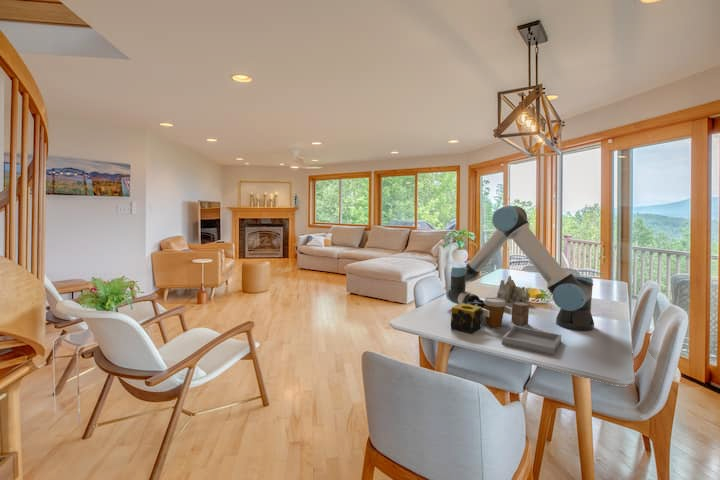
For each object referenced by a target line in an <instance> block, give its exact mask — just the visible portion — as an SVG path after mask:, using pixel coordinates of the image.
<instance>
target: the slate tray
mask: <svg viewBox="0 0 720 480" xmlns="http://www.w3.org/2000/svg"><path fill="white" fill-rule="evenodd" d="M561 342H562V334H558V333H553V332H548V331H543V330H537V329H533V328H528V327H523V326H519V325H513V326H512V327H511V328H510V329H509V330H508V331H507V332H506V333H505V334H503V336H501V345H505V346H510V347H514V348H517V349H522V350H527V351H529V352H530V351H531V352H536V353H540V354H542V355H543V354H544V355H549V356H553V357H554V355H555V354H556V352H557V349H558V348H559V346H560V344H561Z"/></svg>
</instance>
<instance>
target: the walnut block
mask: <svg viewBox="0 0 720 480" xmlns="http://www.w3.org/2000/svg"><path fill="white" fill-rule="evenodd" d="M511 306H512V307H511V309H512V315H511V319H510V320H511V323H514V324H515V325H517V326H523V325H528V324H529V316H530V315H529V311H530V304H529V305H528V304H525V303H522V302H519V303H512V305H511Z"/></svg>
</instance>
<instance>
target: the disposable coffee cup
mask: <svg viewBox="0 0 720 480" xmlns="http://www.w3.org/2000/svg"><path fill="white" fill-rule="evenodd" d="M483 301H484V304H485V309H486V310H488V311H490V312H489V317H486V316H485V325H486V326H487V327H488V328H493V329H500V328H502V323H503V317H504V308H505V306H507V305H506V303H505V300H503V299H500V298H496V297H489V296H488V297H485V298H484V300H483Z"/></svg>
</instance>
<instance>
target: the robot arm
mask: <svg viewBox="0 0 720 480" xmlns="http://www.w3.org/2000/svg"><path fill="white" fill-rule="evenodd" d="M491 217H492V218H491V219H492V220H491V222H492V224H493V226H494V228H496V229H495V230H494V232H493V233H492V234H491V236H490V237H489V238H488V240H486V242H485V243H484V244H483V245H482V247H481V248H480V249H479V250H478V251H477V252H476V254H475V255H474V256H473V258H472V259H470V261H469V262H468V263H467V265H466V266H463V265H453V266H451V272H450V287H449V288H447V291H446V293H445V296H446V299H447V300H448V301H450V302H451V303H453V304H456V305H458V304H460V303H464V304H469V305H474V306H479V307H482V309H481V316H484V317H485V318H486V317H489V312H490V311H488V310H486V309H485V304H484V300H483V299H480V297H479V296H478V295H476V294H474V293H471V292H467V291H466V284H467V283H469V282H472V281H475V280H477V278H478V277H479V275H480V273H481V272H482V271H483V269H484V268H485V267H486V266H487V265H488V264H489V263H490V262H491V260H492V259H493V258H494V257H495V256H496V254H497V253H498V252H499V251H500V250H501V249H503V246H505V244H507V242H508V241H509V240H513V241H514V243H515V244H516V245H517V247H518V248H519V249H520V251H521V252H522V253H523V254H524V255H525V257H526V258H527V259H528V260H529V261H530V263H531V265H533V267H534V268H535V269H536V271H537V272H538V273H539V274H540V276H542V278H543V279H544V281H546V289H547V290H548V291H549V293H550V294H551V296H552V299H553V301H554V302H553V303H554V304H555V305H556V306H557V307H558V308H560V309H559V311H558V313H557V315H556V317H555V323H556V325H558V326H559V327H563V328H565V329H570V330H576V331H593V330H594V329H595V322H594V319H593V315H592V311H591V310H592V309H591V308H592V299H593V298H592V297H593V287H594V280H593V278H592V277H590V276H589V277H588V276H581V275H574V274H573V273H572V272H567V271H565V269H563V267H562V266H561V265H560V264H559V262H558V261H557V260H556V259H555V257H554V256H553V255H552V254H551V253H550V252H549V250H548V249H547V247H545V245H544V244H543V243H542V242H541V241H540V240H539V238H538V237H537V236H536V235H535V233H534V232H533V231H532V230H531V229H530V225H531V224H530V222H529V221H528V215H527V212H526V210H525V209H524V208H523V207H521V206H517V205H509V204H507V205H501V206H500V207H498V208H497V209H495V210H494V212H493V214H492V216H491ZM504 313H505V314H507V315H511V316H512V307H508V306H507V305H505V308H504Z"/></svg>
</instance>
